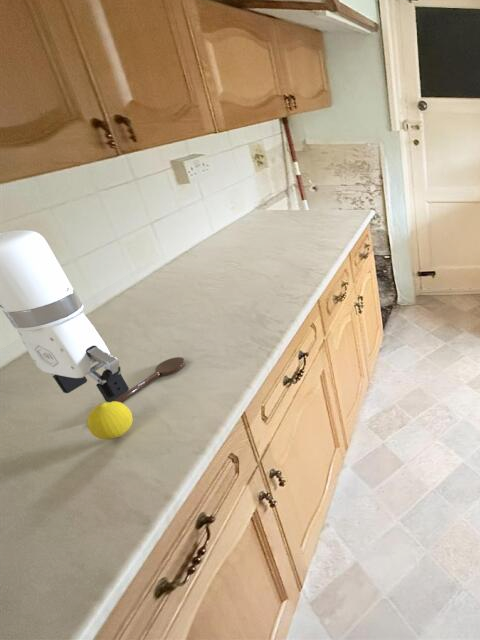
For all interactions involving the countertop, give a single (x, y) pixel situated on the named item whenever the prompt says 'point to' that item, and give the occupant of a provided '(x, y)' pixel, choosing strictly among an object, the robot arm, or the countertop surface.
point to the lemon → (109, 420)
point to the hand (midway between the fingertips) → (97, 391)
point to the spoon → (156, 375)
